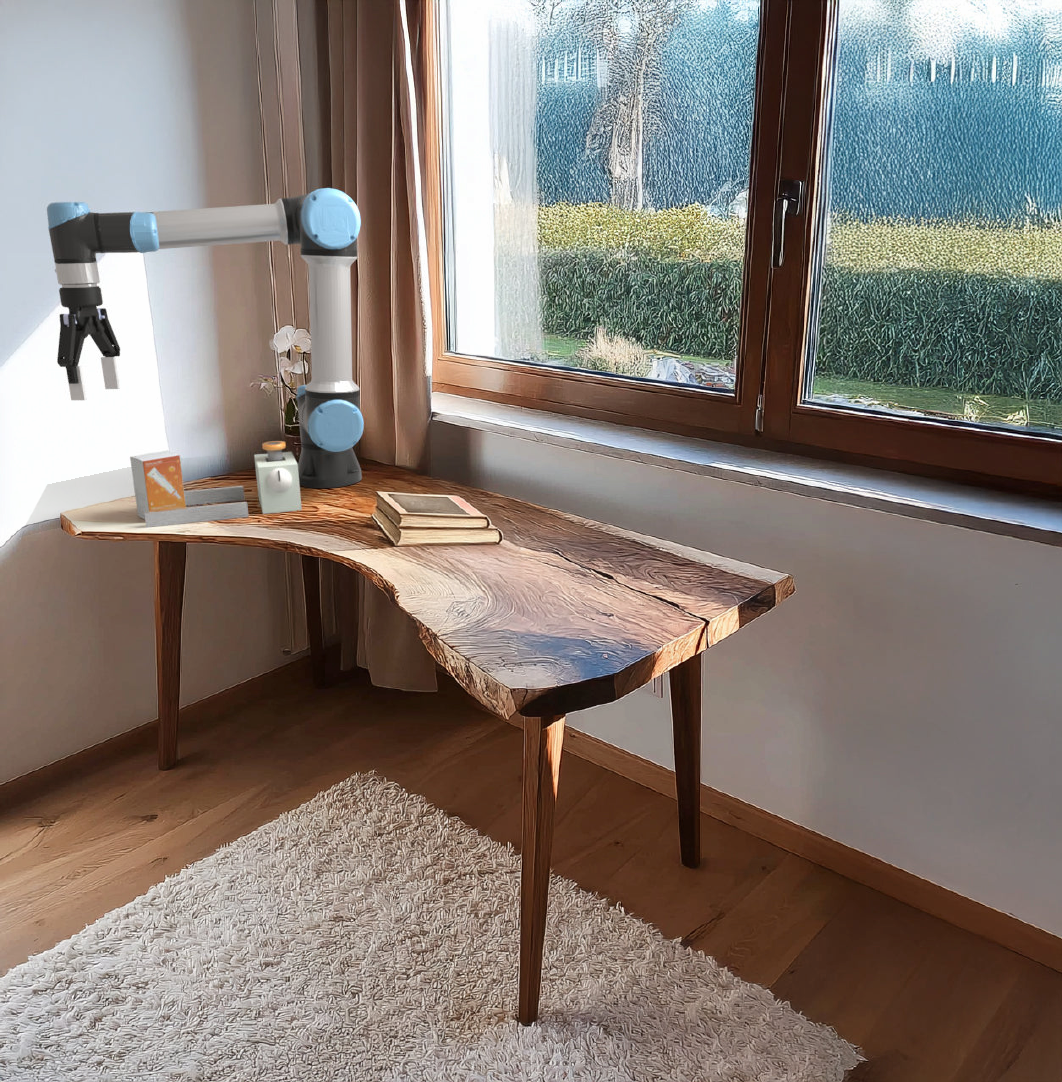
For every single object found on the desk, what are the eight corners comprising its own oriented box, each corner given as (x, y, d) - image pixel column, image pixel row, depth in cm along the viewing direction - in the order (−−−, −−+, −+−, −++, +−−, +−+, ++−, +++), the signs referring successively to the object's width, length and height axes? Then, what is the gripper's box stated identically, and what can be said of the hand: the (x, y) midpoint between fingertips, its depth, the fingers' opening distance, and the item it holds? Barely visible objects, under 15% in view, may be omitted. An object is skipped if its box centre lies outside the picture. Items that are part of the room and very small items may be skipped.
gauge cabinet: (295, 495, 221) (291, 451, 217) (302, 510, 208) (297, 464, 205) (258, 498, 218) (254, 454, 215) (263, 514, 206) (258, 468, 203)
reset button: (286, 467, 214) (284, 440, 212) (289, 472, 210) (286, 444, 208) (264, 469, 213) (261, 442, 211) (265, 474, 208) (263, 446, 206)
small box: (150, 522, 201) (141, 460, 197) (137, 516, 206) (128, 456, 202) (188, 514, 207) (180, 454, 203) (174, 509, 211) (166, 449, 207)
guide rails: (244, 498, 218) (243, 485, 217) (248, 516, 204) (247, 503, 203) (148, 507, 212) (146, 494, 211) (146, 527, 198) (144, 513, 197)
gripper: (93, 282, 204) (108, 384, 210) (24, 290, 180) (44, 405, 187) (127, 281, 203) (142, 384, 210) (64, 289, 179) (82, 405, 186)
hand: (96, 394), depth 198 cm, fingers open, 13 cm apart
